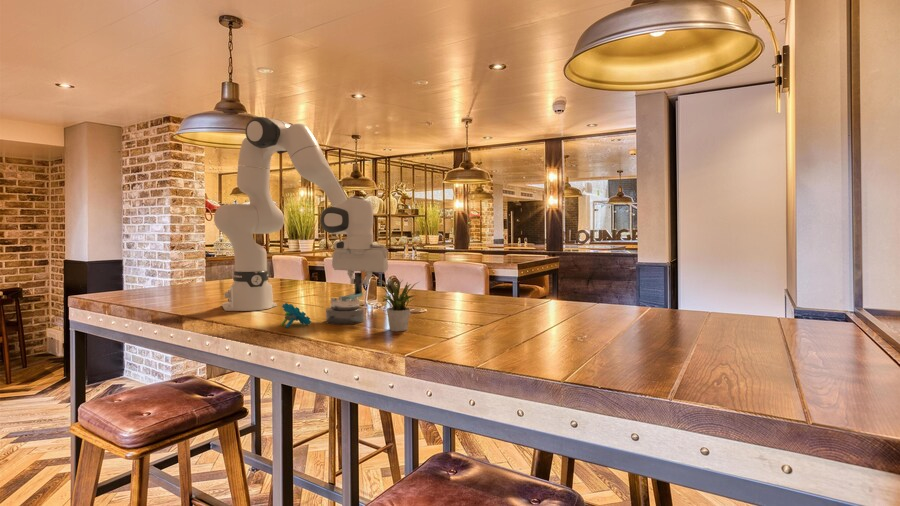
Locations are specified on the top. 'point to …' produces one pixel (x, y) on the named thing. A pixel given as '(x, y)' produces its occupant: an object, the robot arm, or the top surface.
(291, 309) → the toy dinosaur
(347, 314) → the nut housing
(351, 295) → the crank handle
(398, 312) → the house plant
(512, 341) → the top surface
